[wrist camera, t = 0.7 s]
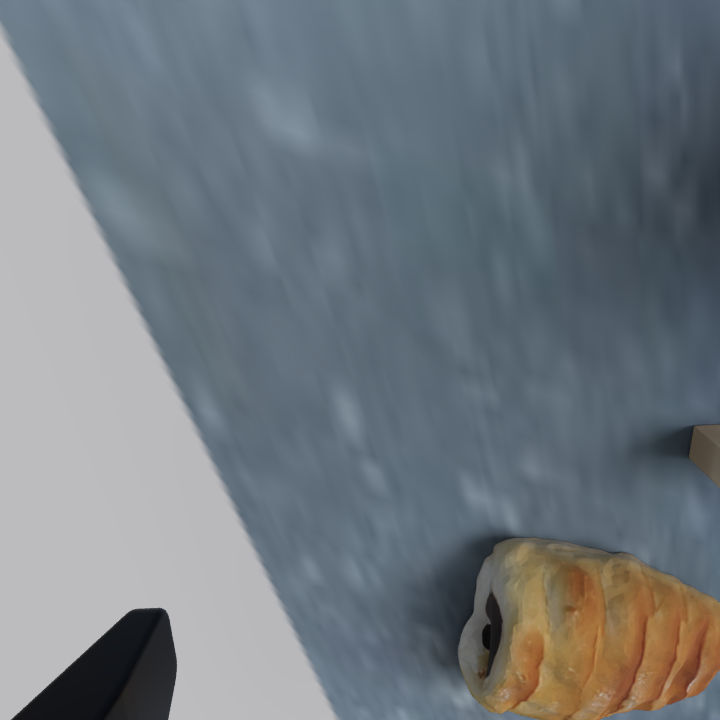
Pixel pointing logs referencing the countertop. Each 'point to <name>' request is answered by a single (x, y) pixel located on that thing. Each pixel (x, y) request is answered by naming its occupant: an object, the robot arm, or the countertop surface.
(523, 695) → the pastry
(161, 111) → the countertop surface
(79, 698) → the robot arm
